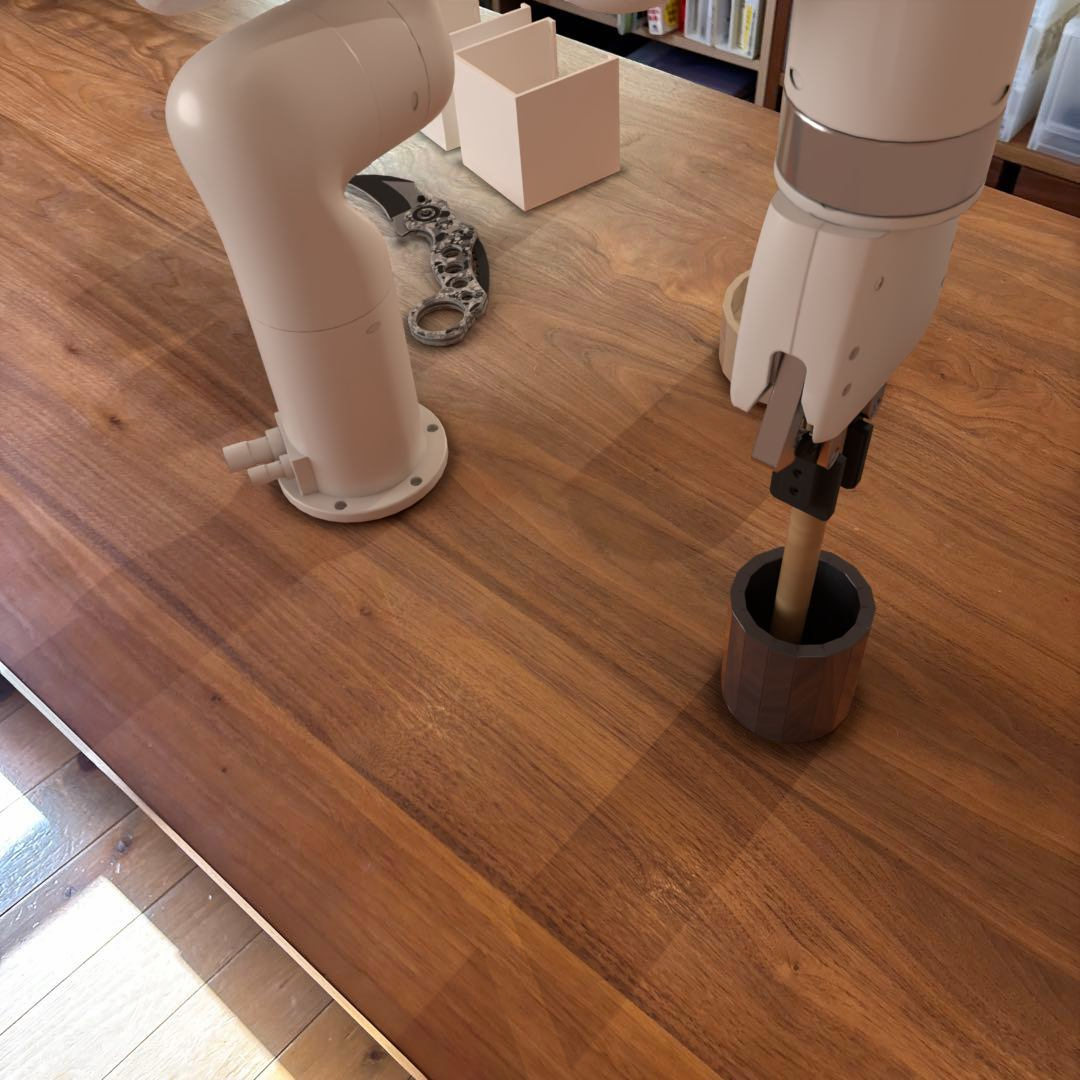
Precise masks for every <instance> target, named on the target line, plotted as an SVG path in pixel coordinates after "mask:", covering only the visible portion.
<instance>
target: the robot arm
mask: <svg viewBox="0 0 1080 1080" xmlns="http://www.w3.org/2000/svg"><path fill="white" fill-rule="evenodd" d="M134 1H135V2H136V3H137V4H138V5H140V6H141V7H142V8H144V9H146V10H148V11H151V12H152V13H154V14H156V15H162V16H169V17H175V16H182V15H188V14H192V13H195V12H199V11H202V10H205V9H208V8H211V7H213V6H215V5H217V4H219V3H222V2H224V1H225V0H134ZM564 1H565V2H568V3H569V4H573V5H575V6H577V7H579V8H582V9H584V10H587V11H591V12H595V13H603V14H607V15H608V14H609V15H626V14H632V13H639V12H645V11H649V10H652V9H655V8H657V7H659V6H661V5H663V4H666V3H668V2H669V1H671V0H564ZM1036 4H1037V0H793V5H792V13H791V19H790V20H791V21H790V28H789V29H790V30H789V39H788V45H787V55H786V61H785V62H786V63H785V70H784V79H783V86H782V95H781V104H780V112H779V118H778V119H779V120H778V128H777V136H776V145H775V156H774V161H773V175H774V176H773V177H774V179H775V182H776V185H777V187H778V188H777V190H776V192H775V193H774V194H773V195H772V197H771V199H770V201H769V205H768V208H767V211H766V213H765V217H764V220H763V224H762V227H761V230H760V233H759V237H758V240H757V244H756V248H755V251H754V255H753V259H752V263H751V267H750V269H751V271H750V275H749V280H748V284H747V289H746V295H745V300H744V305H743V310H742V316H741V321H740V326H739V332H738V338H737V344H736V350H735V357H734V364H733V370H732V378H731V382H730V388H729V394H730V401H731V404H732V406H733V407H735V408H736V409H739V410H742V411H743V412H745V413H749V411H751V410H752V409H753V407H754V406H756V404H757V403H759V400H760V399H761V398H762V397H763V396H764V395H765V394H766V393H767V391H768V390H769V389H770V388H771V387H772V386H773V385H774V386H773V389H772V392H771V395H770V398H769V401H768V405H767V404H766V408H765V411H764V414H763V417H762V419H761V424H760V426H759V429H758V433H757V436H756V439H755V442H754V445H753V448H752V450H751V455H750V460H751V462H753V463H755V464H757V465H760V466H762V467H764V468H766V469H768V470H771V477H770V485H769V493H770V495H771V496H772V497H773V498H775V499H776V500H778V501H780V502H782V503H784V504H786V505H788V506H790V507H791V508H792V507H794V508H796V509H799V510H801V511H803V512H805V513H807V514H809V515H811V516H813V517H815V518H817V519H819V520H821V521H827V522H828V521H829V520H830V519H831V518H832V516H833V515H834V514H835V511H836V507H837V504H838V499H839V494H840V489H841V488H843V489H845V490H854V489H856V487H857V486H858V484H860V482H861V480H862V478H863V473H864V468H865V464H866V460H867V457H868V452H869V448H870V444H871V441H872V436H873V432H874V427H875V424H873V423H870V422H868V421H872V420H873V419H874V418H875V417H876V415H877V413H878V412H879V410H880V408H881V405H882V401H883V399H884V394H885V391H886V386H887V382H888V381H889V380H890V378H892V376H893V375H894V374H895V372H896V371H897V370H898V369H899V368H900V367H901V365H902V364H903V363H904V361H905V360H906V359H907V358H908V357H909V356H910V355H911V353H912V352H913V351H914V349H915V348H916V347H917V346H918V344H919V343H920V341H921V340H922V339H923V337H924V335H925V334H926V332H927V331H928V329H929V326H930V325H931V321H932V320H933V317H934V314H935V311H936V308H937V306H938V303H939V299H940V296H941V293H942V290H943V287H944V282H945V279H946V276H947V272H948V268H949V264H950V259H951V256H952V251H953V246H954V243H955V239H956V238H955V237H956V233H957V228H958V224H959V219H960V217H961V216H962V215H964V214H965V213H967V212H968V211H969V210H970V209H972V208H973V206H974V205H975V204H976V203H977V202H978V201H979V199H980V198H981V195H982V193H983V191H984V188H985V185H986V181H987V178H988V173H989V170H990V167H991V162H992V159H993V156H994V153H995V150H996V149H995V148H996V146H997V141H998V138H999V134H1000V131H1001V128H1002V124H1003V120H1004V116H1005V113H1006V109H1007V105H1008V100H1009V97H1010V95H1011V90H1012V87H1013V83H1014V79H1015V77H1016V73H1017V69H1018V66H1019V62H1020V59H1021V55H1022V52H1023V48H1024V45H1025V42H1026V38H1027V35H1028V32H1029V27H1030V24H1031V21H1032V17H1033V15H1034V11H1035V8H1036ZM454 79H455V61H454V54H453V48H452V43H451V39H450V36H449V32H448V29H447V25H446V22H445V19H444V17H443V14H442V11H441V8H440V6H439V3H438V1H437V0H288V1H286V2H284V3H283V4H279V5H276V6H274V7H272V8H270V9H267V11H264V12H262V13H260V14H259V15H256V16H255V17H253V18H251V19H249V20H247V21H246V22H244V23H241V24H240V25H238V26H236V27H234V28H232V29H231V30H229V31H226V32H225V33H223V34H221V35H219V36H218V37H217V38H215V39H213V40H212V41H210V42H208V43H206V44H205V45H204V46H203V47H202V48H200V49H199V50H198V51H196V52H195V53H194V54H193V55H192V56H191V57H189V59H188V60H186V62H184V64H183V65H182V66H181V67H180V68H179V70H178V71H177V72H176V74H175V75H174V77H173V80H172V81H171V84H170V85H169V88H168V91H167V95H166V100H165V107H164V113H165V114H164V115H165V122H166V123H165V124H166V129H167V132H168V136H169V138H170V141H171V143H172V146H173V149H174V150H175V153H176V155H177V157H178V159H179V161H180V163H181V164H182V167H183V168H184V170H185V172H186V174H187V176H188V177H189V179H190V181H191V182H192V184H193V187H195V190H196V192H197V193H198V196H199V197H200V198H201V200H202V203H203V205H204V207H205V209H206V210H207V213H208V214H209V217H210V218H211V220H212V223H213V224H214V227H215V230H216V231H217V233H218V235H219V238H220V240H221V243H222V246H223V248H224V250H225V253H226V255H227V258H228V261H229V264H230V267H231V270H232V272H233V275H234V278H235V281H236V284H237V287H238V290H239V293H240V297H241V299H242V302H243V305H244V308H245V311H246V314H247V318H248V320H249V323H250V326H251V331H252V333H253V336H254V339H255V342H256V345H257V349H258V351H259V355H260V357H261V361H262V364H263V367H264V370H265V373H266V376H267V379H268V383H269V385H270V388H271V393H272V395H273V398H274V401H275V404H276V408H277V410H278V411H276V412H274V413H273V415H274V418H275V421H276V424H277V426H275V427H272V428H269V429H266V430H264V433H265V436H261V437H257V438H255V439H252V440H248V441H247V440H243V441H240V442H237V443H233V444H230V445H226V446H223V447H221V449H222V452H223V456H224V459H225V463H226V465H227V467H228V470H229V473H230V474H233V473H237V472H240V471H244V470H247V474H248V477H249V480H250V483H251V485H252V488H253V489H254V488H256V487H260V486H263V485H266V484H270V483H271V482H273V481H278V484H279V486H280V489H281V491H282V493H283V495H284V496H285V497H286V498H287V500H288V501H289V502H290V503H291V504H292V505H293V506H294V507H296V508H297V510H299V511H301V512H303V513H304V514H307V515H308V516H310V517H312V518H318V519H320V520H324V521H328V522H336V523H364V522H368V521H375V520H379V519H383V518H386V517H389V516H392V515H396V514H397V513H399V512H402V511H403V510H405V509H408V508H410V507H411V506H413V505H414V504H416V503H417V502H419V501H420V500H421V499H423V498H424V497H425V496H426V495H427V494H428V493H430V491H432V489H434V488H435V486H436V485H437V484H438V482H439V480H441V478H442V476H443V474H444V472H445V469H446V466H447V464H448V458H449V447H448V439H447V435H446V431H445V428H444V426H443V424H442V422H441V421H440V419H439V418H438V417H437V416H436V415H435V414H434V412H432V411H431V410H430V409H429V408H427V407H425V406H424V405H423V404H421V403H419V400H418V394H417V389H416V385H415V384H416V383H415V379H414V375H413V369H412V364H411V359H410V355H409V349H408V344H407V338H406V334H405V333H406V332H405V328H404V327H405V326H404V322H403V317H402V312H401V307H400V301H399V297H398V291H397V287H396V282H395V277H394V272H393V268H392V263H391V257H390V253H389V250H388V247H387V243H386V241H385V239H384V236H383V234H382V233H381V231H380V229H379V227H378V226H377V225H376V224H375V223H374V221H373V220H372V219H371V218H370V217H369V216H368V215H366V214H365V213H364V212H363V211H361V210H360V209H358V208H357V207H355V206H353V205H351V204H350V203H349V202H348V199H347V198H346V193H345V192H346V187H347V186H348V182H349V181H350V180H351V179H352V178H353V177H354V176H355V175H359V173H361V172H363V171H364V170H365V169H367V168H369V166H371V164H372V163H374V162H375V161H376V160H378V159H380V158H381V157H382V156H384V155H385V154H387V153H388V152H390V151H392V150H393V149H395V148H396V147H397V146H399V145H400V144H402V143H404V142H405V141H407V140H408V139H410V138H411V137H413V136H414V135H416V134H417V133H419V132H421V131H420V130H421V129H423V128H424V127H426V126H427V125H428V124H429V123H431V122H432V121H433V120H434V119H435V118H436V117H437V116H438V115H439V114H440V113H441V112H442V110H443V109H444V108H445V106H446V105H447V103H448V101H449V99H450V97H451V94H452V90H453V86H454ZM864 419H865V420H864ZM866 420H867V421H866ZM807 423H808V424H810V425H813V426H814V428H813V429H812V430H811V431H808V430H806V427H807ZM801 425H802V426H801ZM847 426H848V429H847V433H846V438H845V442H844V447H843V451H842V454H841V453H840V449H841V444H842V440H843V435H844V430H845V428H846V427H847ZM271 460H274V461H271ZM269 461H271V462H269ZM265 462H269V463H265Z"/></svg>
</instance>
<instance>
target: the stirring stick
mask: <svg viewBox="0 0 1080 1080" xmlns="http://www.w3.org/2000/svg"><path fill="white" fill-rule="evenodd" d="M813 428H814V426H813V425H810V424H808V423H807V427H806V430H808V431H811V430H812V429H813ZM847 429H848V426H847V427H846V428H845V430H844V435H843V440H842V444H841V449H840V453H841V454H842V451H843V447H844V442H845V438H846V433H847ZM789 516H790V517H789V521H788V526H787V533H786V538H785V543H784V546H785V549H784V554H783V560H782V565H781V571H780V576H779V582H778V588H777V593H776V599H775V604H774V610H773V615H772V621H771V626H770V632H769V634H770V635H772V636H773V637H774V638H776V639H778V640H782V641H785V642H789V643H792V644H795V645H800V643H801V639H802V634H803V630H804V625H805V620H806V616H807V611H808V607H809V602H810V598H811V593H812V588H813V584H814V579H815V575H816V570H817V566H818V561H819V556H820V552H821V550H822V548H823V542H824V537H825V533H826V529H827V524H828V521H821V520H819V519H817V518H815V517H813V516H811V515H809V514H807V513H805V512H803V511H801V510H799V509H796V508H794V507H792V506H791V510H790V515H789Z"/></svg>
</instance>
